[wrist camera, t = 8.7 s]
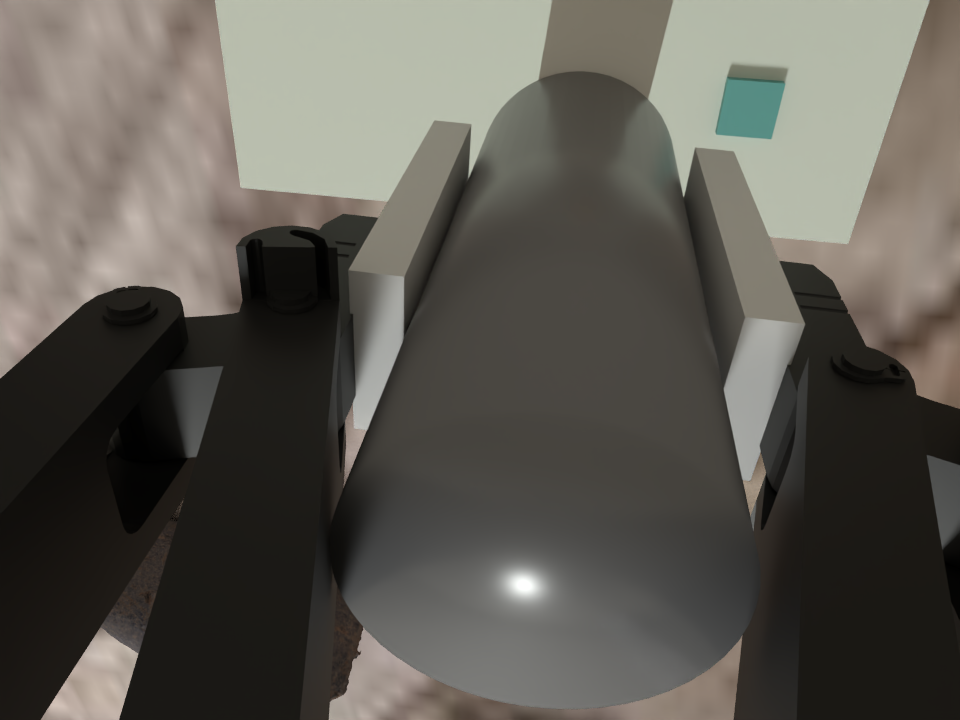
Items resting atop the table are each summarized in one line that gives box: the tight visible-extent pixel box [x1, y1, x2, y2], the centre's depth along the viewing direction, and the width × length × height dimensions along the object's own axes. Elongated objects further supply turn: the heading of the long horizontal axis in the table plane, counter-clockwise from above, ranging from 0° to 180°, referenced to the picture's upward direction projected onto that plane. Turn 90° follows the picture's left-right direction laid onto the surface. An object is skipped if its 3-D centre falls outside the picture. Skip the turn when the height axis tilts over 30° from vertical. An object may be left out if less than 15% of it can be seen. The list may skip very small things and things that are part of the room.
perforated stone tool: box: [101, 520, 363, 702], centre depth 38 cm, size 15×5×7 cm, turn 64°
